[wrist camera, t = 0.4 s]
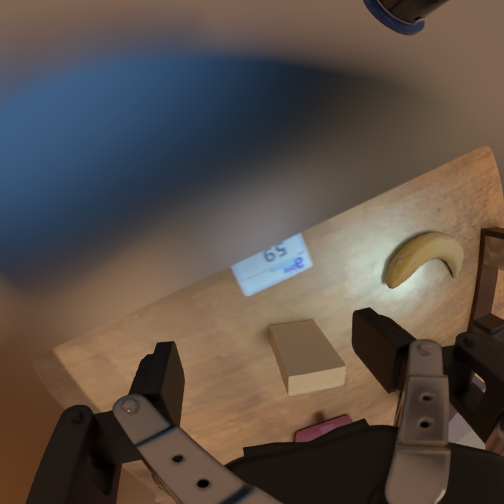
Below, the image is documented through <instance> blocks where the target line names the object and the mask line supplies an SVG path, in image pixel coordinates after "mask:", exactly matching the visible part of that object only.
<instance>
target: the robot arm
mask: <svg viewBox="0 0 504 504" xmlns="http://www.w3.org/2000/svg"><path fill="white" fill-rule="evenodd" d="M375 1H376V3H377V4H378V6H379V7H380V8H381V9H382V10H383V11H384V12H385V13H386V14H387V15H389V16H390V17H391V18H393V19H394V20H396V21H398V22H400V23H402V24H404V25H408V26H414V25H416V24H418V23H419V22H420V21H424V20H425V19H426V18H425V17H426V16H428V15H429V14H431V13H432V12H433V11H435V10H436V9H438V8H439V7H441V6H442V5H444V4H445V3H446V2H448V1H449V0H375ZM427 18H428V17H427ZM352 346H353V349H354V352H355V353H356V354H357V356H358V357H359V358H360V359H361V360H362V362H363V363H364V364H365V365H366V367H367V368H368V369H369V370H370V372H371V373H372V374H373V375H374V376H375V378H376V379H377V380H378V381H379V383H380V384H381V385H382V386H383V388H384V389H385V390H386V391H387V393H388V394H389V393H391V392H394V391H396V390H399V391H400V394H399V398H398V403H397V408H396V413H395V418H394V423H393V426H390V425H371V426H369V424H368V423H367V421H366V420H365V418H364V419H361V420H359V421H356V422H353V423H349V424H346V425H343V426H340V427H337V428H335V429H333V430H331V431H329V432H327V433H325V434H323V435H321V436H319V437H317V438H315V439H313V440H311V441H307V442H275V443H269V444H263V445H257V446H251V447H244V448H243V451H244V456H243V457H240V458H237V459H235V460H233V461H231V462H229V463H227V464H225V465H224V466H223V465H222V464H221V463H220V462H219V461H217V460H216V459H215V458H214V457H213V456H211V455H210V454H209V453H208V452H207V451H206V450H204V449H203V448H202V447H201V446H200V445H199V444H198V443H197V442H196V441H194V440H193V439H192V438H191V437H190V436H189V435H188V434H187V433H186V432H185V431H184V430H183V429H182V428H181V427H180V420H181V410H182V402H183V393H184V385H185V377H184V371H183V368H182V364H181V361H180V357H179V354H178V350H177V347H176V344H175V342H174V341H170V342H159V343H157V344H156V347H155V350H154V353H153V354H147V355H146V356H145V357H144V358H143V359H142V360H141V362H140V364H139V367H138V370H137V372H136V376H135V377H134V380H133V383H132V386H131V388H130V391H129V394H128V395H126V396H123V397H121V398H120V399H118V400H117V401H116V402H115V403H114V405H113V408H112V411H108V412H103V413H98V414H93V412H92V410H91V409H90V408H89V407H88V406H85V405H75V406H72V407H69V408H68V409H66V410H65V411H64V412H63V413H62V415H61V417H60V419H59V421H58V423H57V425H56V427H55V430H54V432H53V434H52V436H51V439H50V441H49V443H48V446H47V448H46V450H45V453H44V455H43V458H42V460H41V463H40V465H39V468H38V471H37V473H36V476H35V478H34V481H33V484H32V487H31V489H30V492H29V495H28V498H27V501H26V504H116V500H117V493H118V486H119V479H120V473H121V467H122V463H127V462H132V461H136V460H142V461H143V462H144V464H145V465H146V466H147V468H148V469H149V470H150V472H151V473H152V474H153V475H154V477H155V478H156V479H157V480H158V481H159V483H160V484H161V485H162V486H163V487H164V489H165V490H166V491H167V492H168V493H169V495H170V496H171V497H172V498H173V499H174V500H175V502H176V503H177V504H504V353H503V352H502V351H501V350H499V349H498V348H497V347H495V346H494V345H493V344H491V343H490V342H489V341H487V340H486V339H484V338H483V337H482V336H480V335H479V334H476V333H473V332H463V333H460V334H459V335H458V336H457V337H456V341H455V345H452V346H446V347H441V346H440V345H439V344H438V343H437V342H436V341H433V340H430V339H419V340H417V339H416V338H414V337H413V336H412V335H411V334H409V333H408V332H407V331H406V330H404V329H403V328H402V327H401V326H400V325H398V324H397V323H396V322H395V321H393V320H392V319H391V318H389V317H386V316H383V315H379V314H377V313H376V312H375V311H374V310H373V309H371V308H370V307H368V308H364V309H360V310H356V311H354V312H353V320H352ZM475 373H476V374H477V375H478V376H480V377H481V378H482V379H483V380H484V382H485V385H486V390H485V393H484V392H483V391H482V390H481V389H480V388H479V387H478V386H477V385H476V384H475V383H474V382H472V380H473V378H474V375H475ZM449 402H450V404H451V405H452V406H453V407H454V408H455V409H456V410H457V412H458V413H459V414H460V415H461V416H462V417H463V419H464V420H465V421H466V422H467V423H468V424H469V426H470V427H471V428H472V429H473V430H474V432H475V433H476V434H477V435H478V436H479V438H480V439H481V440H482V441H483V442H484V443H485V449H486V450H483V449H478V448H473V447H469V446H464V445H460V444H456V443H452V442H448V434H449Z"/></svg>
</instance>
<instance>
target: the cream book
mask: <svg viewBox="0 0 504 504" xmlns="http://www.w3.org/2000/svg"><path fill="white" fill-rule="evenodd" d="M269 329H270V343H271V346H272V349H273V352H274V355H275V358H276V361H277V364H278V367H279V370H280V373H281V376H282V379H283V382H284V385H285V388H286V391H287V394H288V396H293V395H299V394H304V393H310V392H315V391H320V390H325V389H330V388H334V387H339V386H343V385H344V384H345V376H346V367H347V366H346V364H345V363H344V362H343V360H342V359H341V357H340V356H339V355H338V353H337V352H336V350H335V349H334V348H333V346H332V345H331V344H330V342H329V341H328V339H327V338H326V337H325V335H324V334H323V332H322V331H321V330H320V328H319V327H318V326H317V324H316V323H315V321H314V320H307V321H300V322H293V323H285V324H277V325H269Z"/></svg>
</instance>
